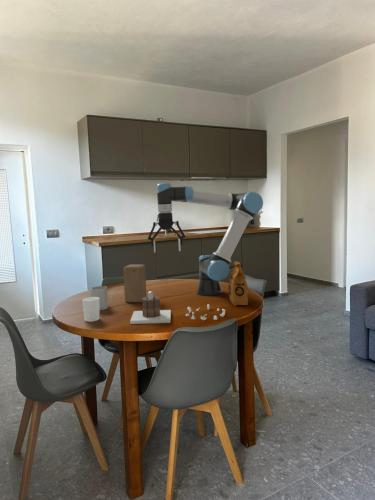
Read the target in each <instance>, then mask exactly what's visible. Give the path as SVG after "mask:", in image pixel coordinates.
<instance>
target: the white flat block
mask: <svg viewBox="0 0 375 500" xmlns="http://www.w3.org/2000/svg"><path fill="white" fill-rule="evenodd" d="M171 312H172V311H171V309H160V316H157V317H150V318H148V317H143V310H133V312H132V316H131V317H130V320H129V321H130V322H129V323H130V325H137V324H138V325H139V324H144V325H145V324H166V323H168V324H170V323H172V322H171V319H172V318H171V315H172V313H171Z"/></svg>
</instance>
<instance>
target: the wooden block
mask: <svg viewBox="0 0 375 500" xmlns="http://www.w3.org/2000/svg"><path fill="white" fill-rule="evenodd" d="M146 277H147V274H146V264H143V263H142V264H139V263H138V264H136V263H135V264H134V263H133V264H128V265H126V266H124V267H123V287H124V291H123V293H124V302H126V303H142V298H144V297H147V280H146V279H147V278H146Z"/></svg>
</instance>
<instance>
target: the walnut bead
mask: <svg viewBox="0 0 375 500" xmlns="http://www.w3.org/2000/svg"><path fill="white" fill-rule="evenodd" d="M160 301H161V300H160V296H157V295H156V296H154V295H153V299H150V300H148V296H146V297H144V298H142V302H141V306H142V308H141V309H142V310H141V311H143V317H148V318H150V317H157V316H160V310H161V304H160V303H161V302H160Z"/></svg>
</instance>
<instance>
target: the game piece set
mask: <svg viewBox="0 0 375 500" xmlns="http://www.w3.org/2000/svg"><path fill="white" fill-rule="evenodd" d="M206 307H207V308H206V309H207V310H208V311H209V310H210V304H209V303H207V305H206ZM200 308H201V307H198V308H196V311H199V310H200ZM221 310H222V313H220V314H219V316H220V317H222V318H224V316H225V314H226V308H225V309H224V308H222V309H221ZM187 311H188V313H186V314H185V317H189V316H190V313H191V314H192V315H191V317H190V319H191V320H196V316H195V315H194V314H195V312H194V311H192V307H190V306H187ZM216 311H217V312H220V308H219V307H218V308H217V309H216ZM206 316H207V313H205V314H204V316H202V315H200V320H202V321H206V319H207V317H206ZM216 320H217V321H218V315H213V321H216Z"/></svg>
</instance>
